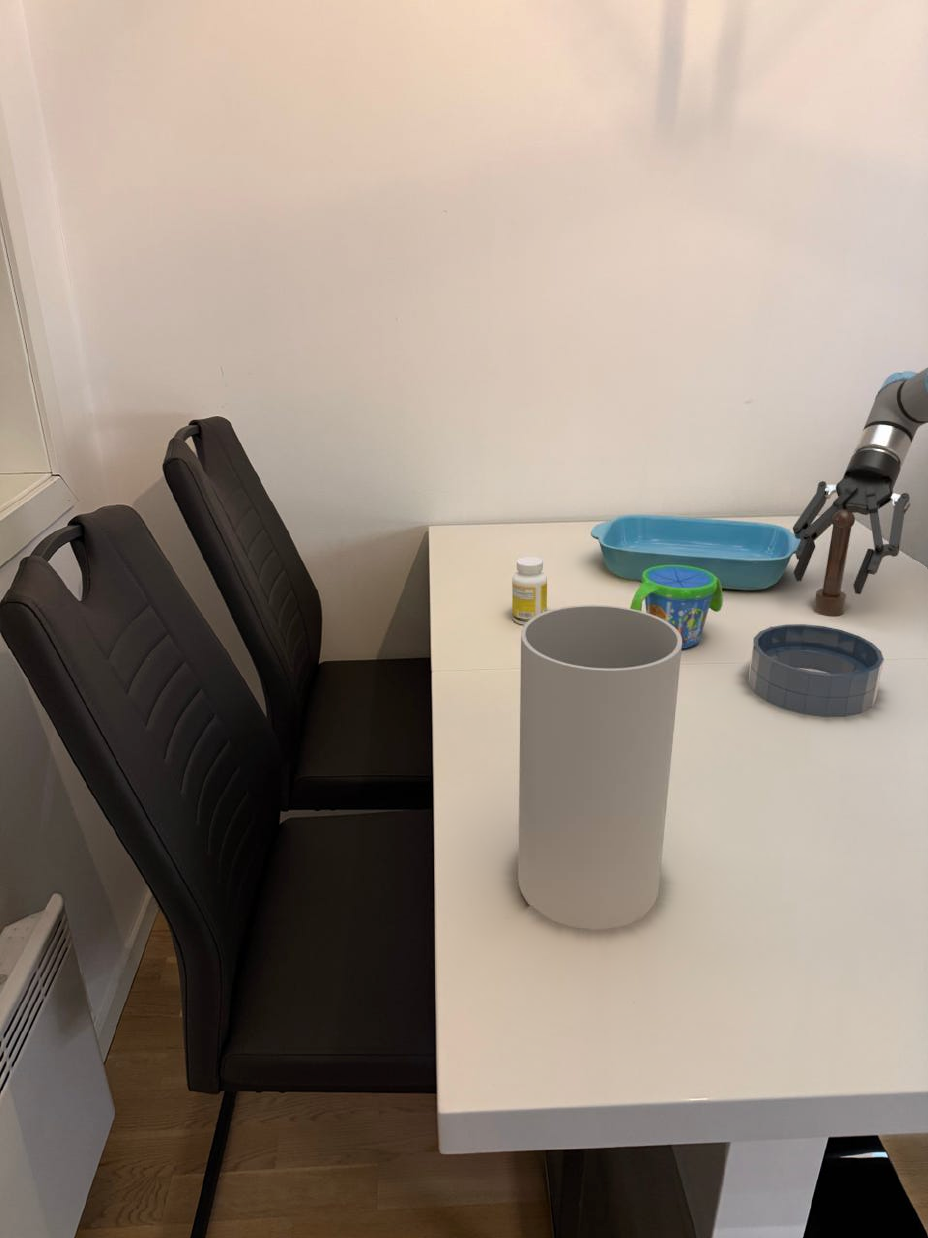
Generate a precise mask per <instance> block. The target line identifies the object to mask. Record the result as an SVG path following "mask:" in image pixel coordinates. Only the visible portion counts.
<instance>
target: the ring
mask: <svg viewBox="0 0 928 1238" xmlns="http://www.w3.org/2000/svg"><path fill="white" fill-rule="evenodd" d="M884 661H885V658H884V656H883V653H882V650H880V649H879V648H878V647H877V646H876V645H875V644H874V643H873V642H871V641H869V640H868V639H866V638H864V637H862V636H860V635H857V634H855V633H851V632H849V631H846V630H843V629H839V628H833V627H829V626H824V625H815V624H804V623H799V624H798V623H795V624H793V623H792V624H789V623H788V624H780V625H775V626H769V627H767V628H765V629H762V630H760V631H759V632H758V633H757V634H756V635H755V636H754V637H753V640H752V648H751V655H750V661H749V662H750V663H749V670H748V686H749V687H750V688H751V690H752V691H753V693H754V694H755V695H756V696H758V697H760V698H761V699H762V700H763V701H765V702H767V703H769V704H771V705H773V706H775V707H778V708H780V709H781V710H782V709H783V710H786V711H790V712H793V713H797V714H800V715H803V716H804V715H806V716H813V717H820V718H845V717H851V716H855V715H859V714H862V713H864V712H866V711H869V709H872V707H873V706H874V703H875V702H876V700H877V697H878V696H877V695H878V691H879V686H880V681H881V676H882V671H883V666H884ZM811 670H816V671H811ZM819 671H820V672H819Z"/></svg>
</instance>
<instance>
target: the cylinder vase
mask: <svg viewBox="0 0 928 1238" xmlns="http://www.w3.org/2000/svg"><path fill="white" fill-rule="evenodd" d="M682 650H683V648H682V637H681V635H680V633H679V632H678V630H677V629H676V628H675V627H674V626H672V625H671V624H670V623H668V622H667V621H665V620H663V619H661V618H659V617H657V616H654V615H651V614H649V613H646V611H642V610H641V611H638V610H634V609H630V607H624V606H617V605H604V604H579V605H569V606H564V607H557V608H554V609H553V608H552V609H550V610H547V611H546V612H544V613H541V614H539V615H537V616H535V617H533V618H532V619H530V620H529V621H528V622H527V623H526V624H525V625H522V627H521V631H520V688H519V690H520V692H519V693H520V694H519V696H520V699H519V771H518V772H519V778H518V779H519V781H518V782H519V783H518V861H517V862H518V863H517V864H518V866H517V867H518V868H517V873H518V874H517V878H518V879H517V880H518V886H519V889H520V892H521V894H522V896H523V898H524V900H525V902H526V903H527V904H528V905H529V906H531V907H532V908H533V909H534V910H536V911H537V912H538V913H539V914H541V915H543V916H544V917H545V918H548V919H549V920H552V921H553V922H555V923H559V924H561V925H563V926H567V927H570V928H575V929H576V928H577V929H581V930H590V931H591V930H592V931H601V930H612V929H617V928H620V927H621V928H622V927H625V926H627V925H631V924H632V923H634V922H637V921H638V920H640V919H642V918H643V917H644V916H645V915H646V914H648V913H649V911H651V909H652V908H653V907H654V905H655V903H656V902H657V899H658V896H659V892H660V891H659V890H660V880H661V871H662V870H661V868H662V861H663V860H662V859H663V849H664V838H665V826H666V815H667V807H668V796H669V795H668V794H669V785H670V784H669V783H670V775H671V764H672V753H673V742H674V733H675V721H676V711H677V701H678V690H679V679H680V670H681V659H682Z"/></svg>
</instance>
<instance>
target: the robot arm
mask: <svg viewBox="0 0 928 1238" xmlns="http://www.w3.org/2000/svg"><path fill="white" fill-rule="evenodd" d="M926 424H928V367H926V368H925V369H923V370H921V371H920V372H915V371H910V370H905V371H903V372H898V371H897V372H894V373H892V374H890V375H889V376H887V377H886V379H884V381H883V383H882V385H881V387H880V389H879V390H878V391H877V393H876V395H875V398H874V401H873V404H872V407H871V410H870V411H869V415H868V417H867V419H866V422H865V424H864V427H863V429H862V432H861V434H860V436H859V439H858V441H857V444H856V445H855V448H854V450H853V454H852V456H851V457H850V460H849V461H848V464H847V467H846V470H845V472H844V473H843V477H842V478H841V480H840V481H839V482H838V483H836V484H827V482H826V481H824V480H822V481H819V482H818V483H817V488H816V492H815V494H814V495H813V497H812V498H811V500H810V501H809V503H808V504H807V505H806V506H805V509H804V510H803V511H802V513H801V515H800V516H799V518H798V519H797V520H796V522H795V523H794V525H793V526H792V533H793V534H794V535H795V537H796V538H797V539H801V541H800V543H799V545H798V548H797V550H796V554H795V558H796V560H798V561H797V563H796V565H795V567H794V570H793V576H794V578H795V581H796V582H800V583H801V582H802V581H803V578H804V576H805V574H806V571H807V569H808V566H809V564H810V561H811V559H812V557H813V554H814V552H815V550H816V543H815V541H816V540H817V539H818V538H820V536H821V535H823V533H825V532H826V531H827V530H828V528H830V527H831V526H833V524H832V517H833V515H834V514H835V513H836V512H837V511H839V510H849V511H851V512H852V513H853V514H854V513H858V514H861V515H864V516H868V515H869V520H870V527H871V533H872V539H873V541H872V542H873V547H874V548H869V547H868V548H867V550H866V553H865V555H864V557H863V560H862V563H861V565H860V567H859V570H858V573H857V574H856V576H855V577H856V578H855V580H854V583H853V589H854V593H855V594H856V595H861V594H862V592H863V589H864V587H865V584H866V582H867V579H868V577H869V575H874V576H875V575H876V574H877V573H878V571H879V568H880V565H881V563H882V560H883V558H884V557H888V556H891V557H893V558H894V557H895V558H896V557H898V555H899V554H900V548H901V540H902V533H903V526H904V521H905V520H904V518H905V514H906V513H907V511H908V510H909V508H910V506H911V499H910V494H909V493H908V492H903V493H901V494H899V493H895V492H894V487H895V485H896V483H897V480H898V477H899V475H900V472H901V469H902V467H903V464H904V463H905V460H906V459H907V455H908V453H909V451H910V448H911V445H912V443H913V440H914V438H915V436H916V433H917V431H918V429H919V428H920V427H921V426H923V425H926ZM833 494H837V498H836V499H835V500H834V501H833V502H832V504H831V506H829V507H828V508H827V509H826V510H825V511H824V512H823V513H822V514H821V515H819V514H820V512H821V511H822V508H823V507H824V506H825V504H826V502H827V500H829V499H831V498H832V496H833ZM891 502H892V503H891ZM889 503H891V504H892V509H893V513H892V521H891V526H890V533H889V541H888V543H884V542H883V541H884V540H883V534H882V528H881V527H882V526H881V521H880V515H879V510H880V509H881V508H883V507H884V506H886V505H887V504H889ZM818 515H819V516H818ZM817 517H818V518H817Z"/></svg>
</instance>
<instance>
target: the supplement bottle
mask: <svg viewBox="0 0 928 1238" xmlns="http://www.w3.org/2000/svg"><path fill="white" fill-rule="evenodd" d="M543 570H544V560H542V558H540V557H534V556H525V557H521V558H518V559H517V560H516V571H517V572H515V573H514V574H513V576H512V578H511V579H512V581H511V582H512V583H511V584H512V586H511V588H512V590H511V591H512V593H511V595H512V597H511V598H512V599H511V600H512V603H511V605H512V619H513V621H514V622H515V623H517V624H519V625H522V626H524V625H525V624H526V623H527V622H528V621H529V620H530V619H532V618H533V617H535V616H537V615H539V614H541V613H544V612H546V611H548V577H547V575H546V574H545V573H544V572H542V571H543Z"/></svg>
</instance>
